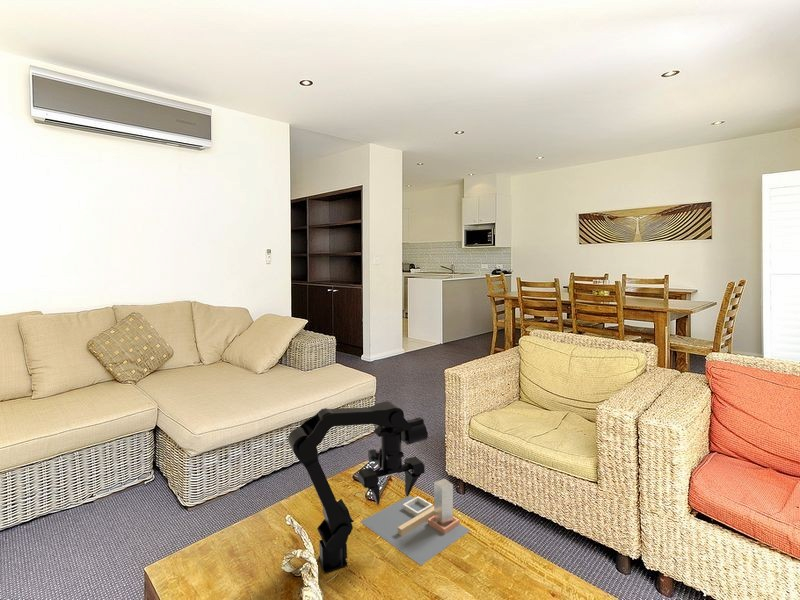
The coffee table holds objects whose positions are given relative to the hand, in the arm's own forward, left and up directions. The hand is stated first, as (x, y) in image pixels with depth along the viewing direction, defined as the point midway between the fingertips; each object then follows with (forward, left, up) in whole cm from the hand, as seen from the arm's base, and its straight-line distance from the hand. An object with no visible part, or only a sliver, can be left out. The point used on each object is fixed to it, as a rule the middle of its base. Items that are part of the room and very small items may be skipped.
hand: (392, 499), depth 124 cm
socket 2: (+16, -1, -12) cm, 20 cm away
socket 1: (+13, +9, -12) cm, 20 cm away
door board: (+8, +2, -13) cm, 15 cm away
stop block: (+16, -1, -12) cm, 20 cm away
